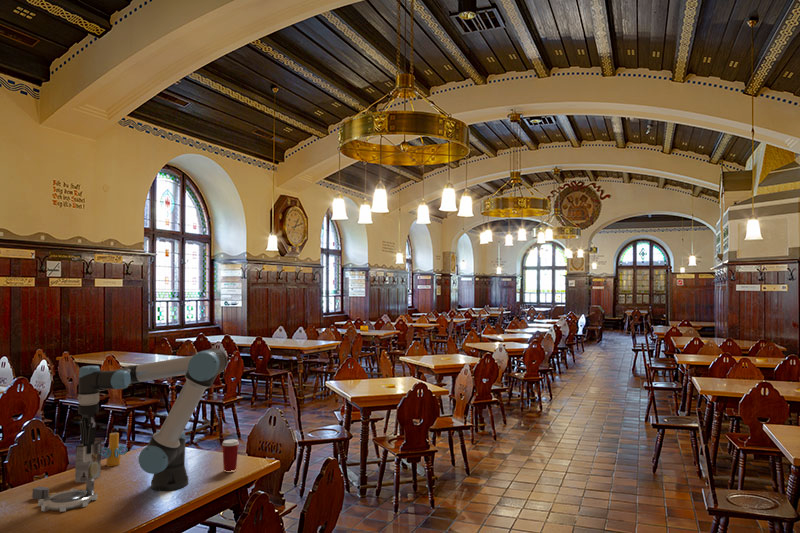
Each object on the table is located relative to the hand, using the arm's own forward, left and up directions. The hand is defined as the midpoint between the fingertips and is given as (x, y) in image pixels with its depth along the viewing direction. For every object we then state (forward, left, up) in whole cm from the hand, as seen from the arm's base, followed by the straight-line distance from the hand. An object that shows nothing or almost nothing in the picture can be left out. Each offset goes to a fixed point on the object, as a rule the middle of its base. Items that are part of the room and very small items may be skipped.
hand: (87, 461), depth 226 cm
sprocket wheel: (+1, +8, -14) cm, 16 cm away
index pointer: (+16, +8, -14) cm, 23 cm away
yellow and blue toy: (+23, -36, -15) cm, 46 cm away
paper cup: (-36, -47, -15) cm, 61 cm away
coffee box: (+17, -16, -15) cm, 28 cm away
